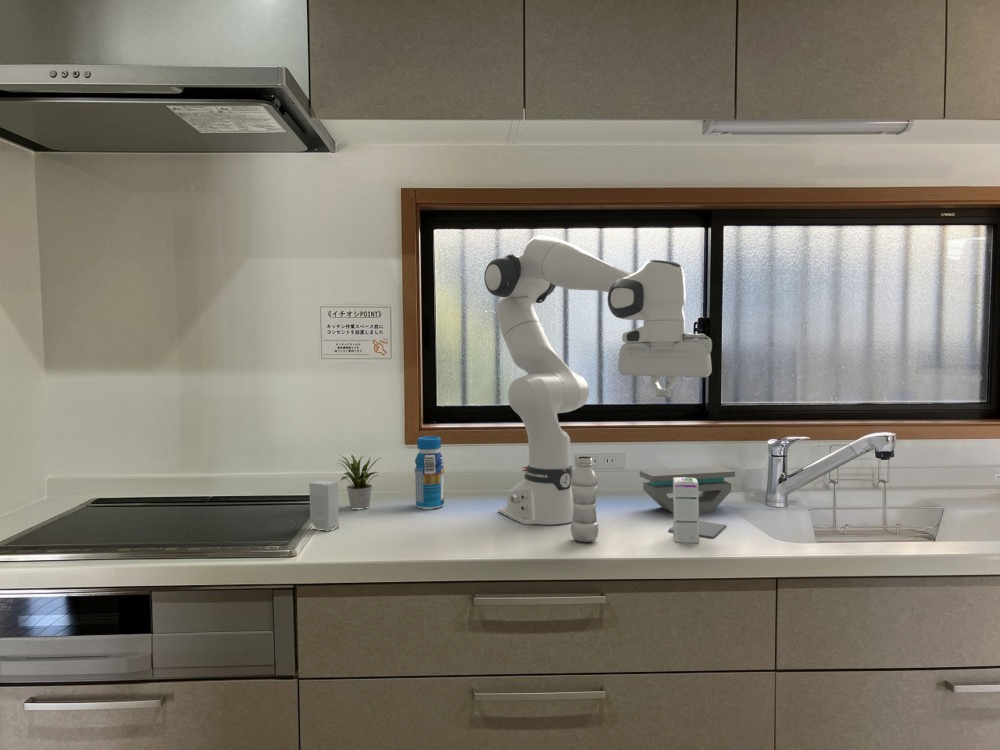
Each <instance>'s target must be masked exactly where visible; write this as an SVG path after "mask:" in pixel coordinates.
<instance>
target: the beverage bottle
mask: <svg viewBox="0 0 1000 750" xmlns="http://www.w3.org/2000/svg"><path fill="white" fill-rule="evenodd" d="M416 442H417V443H416V444H417V446H416V447H417V450H418V451H419V452H417V454H416V457H415V459H414V463H415V468H414V475H415V481H414V483H415V506H417V507H419V508H418V509H420V508H437V507H441V506H443V505H445V490H444V489H445V486H444V484H445V481H444V478H445V467H444V457H443V455H442V453H441V452H440V450H441V447H442V439H441V437H440V436H434V435H427V436H426V435H425V436H420V437H418V438H417V440H416ZM417 507H416V508H417ZM443 507H444V506H443ZM441 508H442V507H441Z"/></svg>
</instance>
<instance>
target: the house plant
mask: <svg viewBox="0 0 1000 750" xmlns="http://www.w3.org/2000/svg"><path fill="white" fill-rule="evenodd" d="M338 456H340V457H342V458H343V459H344V460H345V461H344V460H340V459H339V461H340V462H342V463H344V464H345V465H346V466H345V465H344V464H342V463H340V462H337V464H339V465H341V466H342V467H344V469H345V470H346V472H343V475H346V476H343V475H342V474H341V475H340V476H341V479H340V482H342V481H343V480H346V481H348V482H349V483H350V484H349V485H347V486H346V489H347V490H346V491H347V493H348V500H349V505H350V509H351V508H366V507H369V508H370V505H371V504H370V502H371V496H372V489H373V485H372V484H369V482H370V481H371V480H372V479H373V478H374V477H378V476H380V475H378V473H379V472H378V471H374V472H370V473H369V471H370V469H371V468H372V467H373V465H375V463H376V462H377V461H378V460H380V459H381V457H379V458H377V459H376V460H375V461H374V462H373V463H372V464H371V465H370V466H369V464H370V463H371V457H369V458H368V460H367V462H366V463H365V464H364V465H363V467H362V468H361V460H362V458H363V457H364V455H363V453H361V455H360V458H359V460H358V461H357V459H356V458H355V456H354V455H353V454H350V456H351V458H352V463H350V462H349V460H348V459H347V458H346V457H344V456H343V455H339V454H338ZM347 468H348V469H349V470H348V469H347ZM360 470H361V471H360ZM374 474H377V475H374ZM372 475H373V476H372ZM370 477H371V478H370ZM348 478H350V480H351V481H352V482H351V481H350V480H348ZM369 478H370V479H369Z"/></svg>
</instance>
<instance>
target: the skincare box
mask: <svg viewBox="0 0 1000 750" xmlns="http://www.w3.org/2000/svg"><path fill="white" fill-rule="evenodd" d="M338 484H339V482H338V481H331V480H320V479H319V480H316V481H312V482H309V483H308V485H309V486H308V487H309V517H310V518H309V520H310V521H309V523H310V522H311V523H313V524H314V526H315V527H316V528H317V529H323V530H331V529H333V528H335V527H338V526H339V527H340V525H339V524H340V521H339V519H340V517H339V516H340V515H339V513H340V512H339V485H338Z"/></svg>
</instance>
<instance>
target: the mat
mask: <svg viewBox="0 0 1000 750" xmlns="http://www.w3.org/2000/svg"><path fill="white" fill-rule="evenodd" d="M726 527H727V524H721V523H716V522H708V521H704V520H703V521H701V520H699V536H700V538H705V537H706V538H705V539H711V538H713V539H714V538H716V537H717V536H718V535H719V534H720V533H721V532H722V531H724V530H725V529H726ZM667 532H668V533H673V526H672V527H670V528H669V529H668V531H667ZM718 533H719V534H718ZM717 534H718V535H717ZM716 535H717V536H716ZM715 536H716V537H715Z"/></svg>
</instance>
